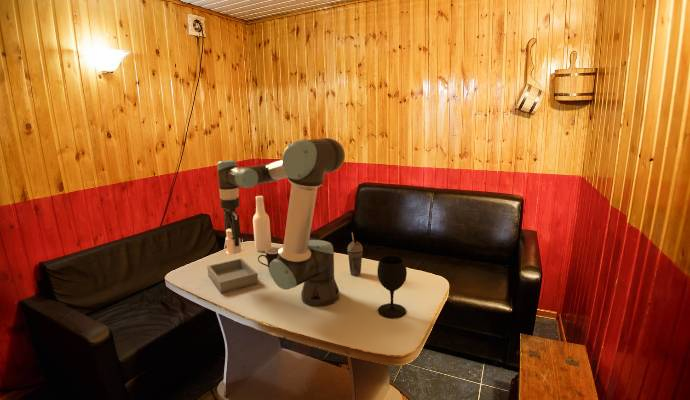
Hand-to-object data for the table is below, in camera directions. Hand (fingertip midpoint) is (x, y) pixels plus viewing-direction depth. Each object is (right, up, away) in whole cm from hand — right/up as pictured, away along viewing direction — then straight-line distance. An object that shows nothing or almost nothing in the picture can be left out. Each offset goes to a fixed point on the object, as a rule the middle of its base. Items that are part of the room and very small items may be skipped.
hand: (234, 250), depth 158 cm
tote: (-3, -14, +8) cm, 17 cm away
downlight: (0, -1, 0) cm, 1 cm away
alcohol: (+2, -6, +47) cm, 47 cm away
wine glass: (+65, -19, -22) cm, 71 cm away
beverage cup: (+52, -13, +10) cm, 55 cm away
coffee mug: (+13, -12, +17) cm, 25 cm away
